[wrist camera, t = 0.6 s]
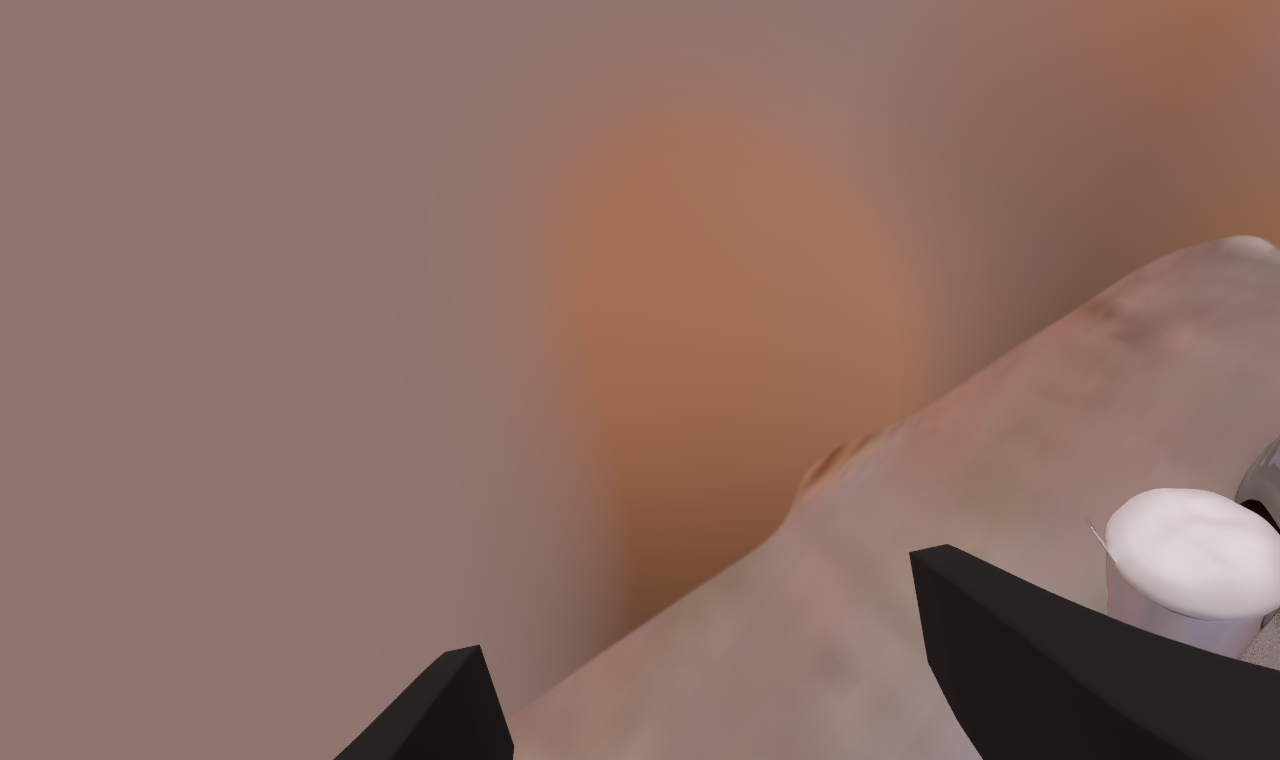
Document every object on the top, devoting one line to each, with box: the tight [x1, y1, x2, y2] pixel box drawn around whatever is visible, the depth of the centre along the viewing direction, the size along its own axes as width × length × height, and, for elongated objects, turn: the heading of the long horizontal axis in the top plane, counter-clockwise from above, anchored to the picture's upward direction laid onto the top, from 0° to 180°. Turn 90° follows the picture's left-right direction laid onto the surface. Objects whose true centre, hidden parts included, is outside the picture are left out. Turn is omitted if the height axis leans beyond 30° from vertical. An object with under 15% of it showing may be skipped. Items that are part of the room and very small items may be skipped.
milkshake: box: [1086, 488, 1280, 660], centre depth 23 cm, size 4×5×10 cm
